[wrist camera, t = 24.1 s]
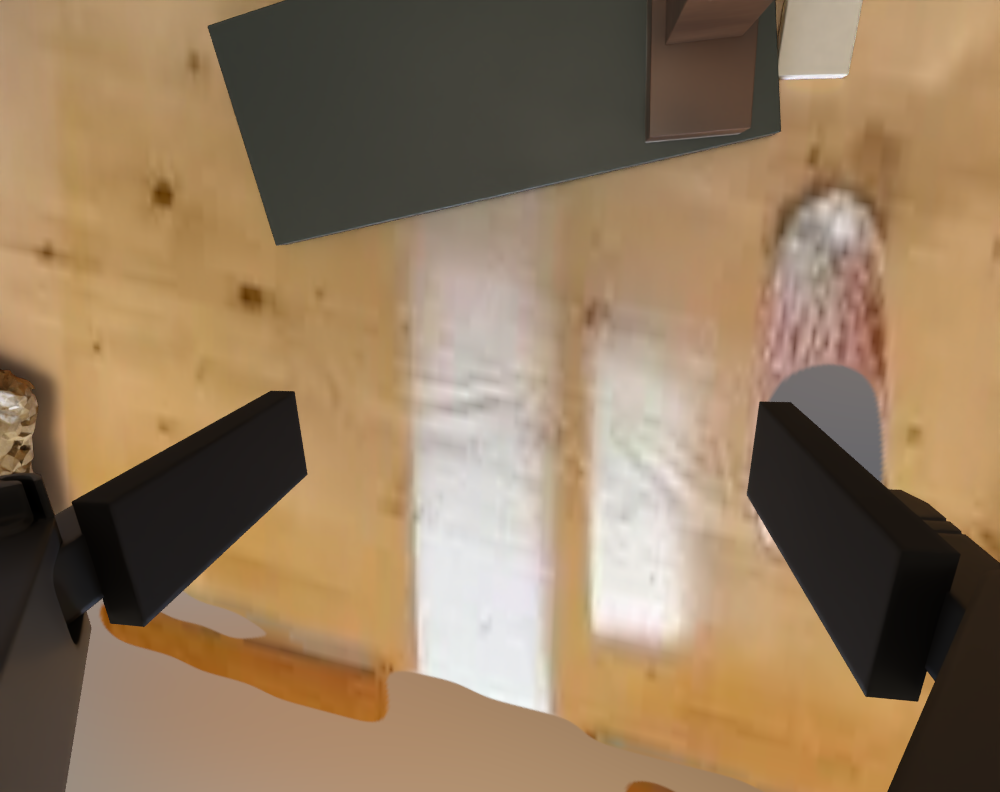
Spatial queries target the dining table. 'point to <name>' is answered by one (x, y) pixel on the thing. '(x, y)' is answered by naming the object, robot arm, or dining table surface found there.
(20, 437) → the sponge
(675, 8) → the brown upright slab stand
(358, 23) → the slate board
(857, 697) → the dining table surface
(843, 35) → the chalk patch
